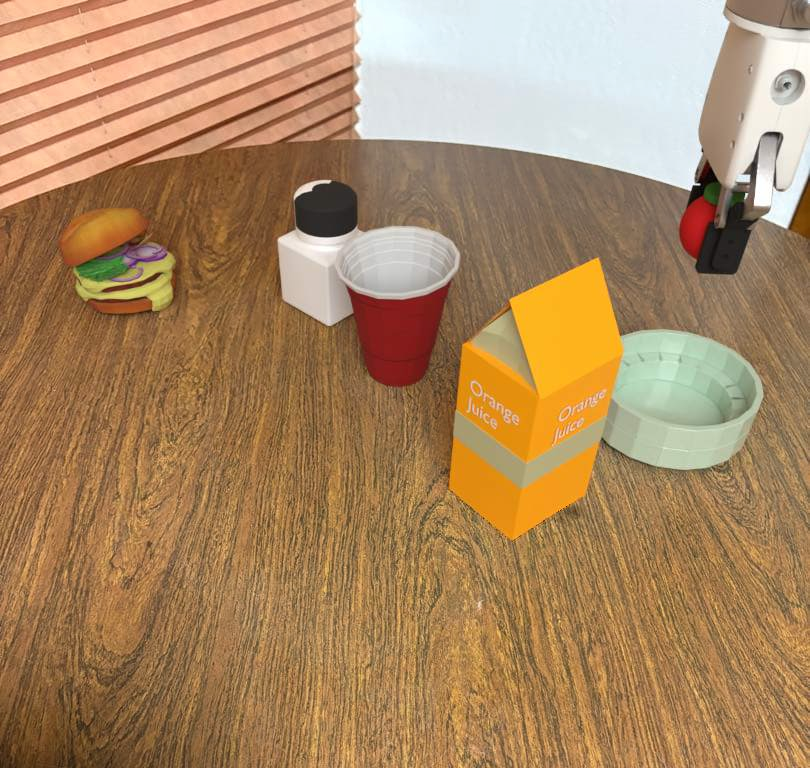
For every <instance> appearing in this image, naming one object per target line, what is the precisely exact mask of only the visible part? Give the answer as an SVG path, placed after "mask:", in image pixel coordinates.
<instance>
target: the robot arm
mask: <svg viewBox="0 0 810 768" xmlns="http://www.w3.org/2000/svg"><path fill="white" fill-rule="evenodd" d="M722 14H723V16H724V18H725V19H726V20H727V22H729V23H728V25H727V29H726V31H725V35H724V38H723V41H722V44H721V45H720V46H721V47H720V49H719V52H718V56H717V58H716V62H715V64H714V68H713V70H712V75H711V79H710V81H709V84H708V88H707V91H706V94H705V98H704V101H703V107H702V110H701V114H700V119H699V123H698V128H697V129H698V130H697V131H698V132H697V135H698V139H699V140H698V141H699V143H700V147H701V149H700V151H701V153H702V155H701V157H700V159H699V162H698V164H697V167H696V170H695V172H694V176H693V177H694V179H693V180H694V181H693V182H694V184H693V185H692V186H691V189H690V193H689V197H688V200H687V203H686V206H685V211H686V209H687V208H688V207H689V206H690V204H691V203H693V202H694V201H695V200H696V199H698V198H699V197H701V196H703V195H704V191H705V188H706V186H707V185H708V184H710V183H714V182H720V183H721V184H722V187H721V192H720V196H719V201H718V206H717V211H716V215H715V220H714V222H709V223H708V226H707V229H706V232H705V236H704V239H703V242H702V245H701V248H700V252H699V255H698V258H697V260H696V261H695V265H694V269H695V271H696V273H697V274H703V275H724V276H725V275H727V276H729V275H730V276H731V275H732V276H733V275H735V274H736V273H737V272H738V271H739V268H740V265H741V263H742V259H743V256H744V254H745V251H746V248H747V245H748V242H749V239H750V236H751V234H752V231H754V230H755V228H756V226H757V224H758V221H759V220H760V218H762V217H764V216H766V215H767V214H769V213H770V211H771V209H772V204H773V193H774V189H775V191H777V192H780V193H784V192H786V191H787V190H788V189H789V188H791V186H792V184H793V181H794V179H795V176H796V174H797V170H798V167H799V165H800V161H801V159H802V155H803V153H804V150H805V146H806V144H807V140H808V139H809V134H810V0H725V3H724V7H723V11H722ZM739 175H742V176H743V175H744V176H749V181H737V179H738V176H739ZM733 193H745V194H747V196H745V198H744V201H743V202H736V203H735V204H734V205H733V206H732V207H730V204H731V199H732V195H733ZM685 211H684V212H685Z"/></svg>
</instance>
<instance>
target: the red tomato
mask: <svg viewBox="0 0 810 768" xmlns="http://www.w3.org/2000/svg"><path fill="white" fill-rule="evenodd" d="M721 187H722V184H721V183H720V182H714V183H710V184H708V185H707V186H706V188H705V191H704V195H703V196H701V197H699V198H698V199H696V200H695V201H694V202H693V203H691V204H690V206H689V207H688V208H687V209H686V208H685V210H686V211H684V213H683V215H682V216H681V219H680V223H679V227H678V236H679V237H678V238H679V240H680V244H681V246H682V248H683V250H684V252H685V253H687V255H688V256H690V257H691V258H692V259H694V260H696V261H697V258H698V255H699V252H700V248H701V245H702V242H703V239H704V236H705V232H706V229H707V226H708V223H709V222H714V220H715V215H716V211H717V206H718V201H719V196H720V192H721ZM744 199H746V193H733V195H732V199H731V204H730V207H732V206H733V205H734V204H735V203H736V202H743V201H744Z"/></svg>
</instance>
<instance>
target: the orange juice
mask: <svg viewBox="0 0 810 768" xmlns="http://www.w3.org/2000/svg"><path fill="white" fill-rule="evenodd" d="M508 301H509V302H508V303H507V304H506V305H505V306H504V307H503V308H502V309H501V310H499V312H498V313H497V314H496V315H495V316H493V317H492V318H491V319H490V320H489V321H488V322H487V323H486V324H485V325H484V326H483V327H481V328H480V329H479V330H478V331H477V332H476V333H475V334H474V335H473V336H472V337H471V338H469V339H468V340H467V341H466V342H464V343H462V345H461V354H460V355H461V356H460V366H459V376H458V386H457V387H458V388H457V397H456V407H455V408H456V409H455V411H454V421H453V431H452V436H453V437H452V439H453V440H452V449H451V460H450V461H451V462H450V469H449V470H450V471H449V481H448V490H449V489H450V490H451V491H453V493H455V494H456V495H457V496H459V497H460V498H461V499H462V500H463V501H464V502H466V503H467V504H468V505H470V506H471V507H472V508H473V509H474V510H475V511H477V512H478V513H479V514H480V515H481V516H483V517H484V518H485V519H486V520H488V522H490V523H491V524H492V525H494V527H496V528H497V529H498V530H500V531H501V532H502V533H504V535H506V536H507V537H508V538H510V540H514V539H515V538H517V537H519V536H520V535H523V533H525V532H527V531H528V530H530V529H531V528H533V527H534V526H536V525H537V524H539V523H540V522H542V521H543V520H545V519H546V518H549V517H550V516H552V515H553V514H555V513H556V512H558V511H559V512H558V513H560V512H561V511H563V510H564V509H566V508H567V507H569V506H570V505H572V504H573V503H575V502H577V501H578V500H580V499H581V498H583V497H584V496H586V495H587V490H588V487H589V484H590V481H591V480H590V479H591V475H592V472H593V468H594V464H595V460H596V457H597V453H598V450H599V446H600V441H601V440H602V433H603V430H604V426H605V422H606V418H607V412H608V408H609V404H610V400H611V397H612V393H613V389H614V385H615V381H616V378H617V374H618V370H619V366H620V362H621V359H622V355H623V353H624V349H623V346H622V342H621V338H620V336H621V334H620V331H619V328H618V324H617V321H616V316H615V313H614V309H613V305H612V301H611V298H610V294H609V291H608V287H607V283H606V280H605V276H604V272H603V268H602V265H601V261H600V257H599V256H598V257H596V258H593V259H591V260H588V261H587V262H585V263H583V264H581V265H579V266H576V267H574V268H573V269H570V270H568V271H566V272H564V273H562V274H560V275H558V276H555V277H553V278H551V279H549V280H547V281H545V282H542V283H541V284H538V285H537V286H534V287H532V288H530V289H528V290H526V291H524V292H522V293H520V294H517V295H516V296H514V297H511V298H509V299H508ZM450 493H451V494H452V495H454V494H453V493H452V492H450ZM456 498H457V499H458V500H460V499H459V498H458V497H456ZM577 499H578V500H577ZM574 501H575V502H574ZM464 502H462V503H463V504H464V505H466V504H465V503H464ZM569 504H570V505H569ZM566 506H567V507H566ZM468 508H469V509H470V510H472V509H471V508H470V507H468ZM563 508H564V509H563ZM561 509H562V510H561ZM560 510H561V511H560ZM474 513H475V514H476V515H478V514H477V513H476V512H474ZM558 513H556V514H555V515H557V514H558ZM555 515H553V516H555ZM481 516H479V517H480V518H481V519H482V520H484V519H483V518H482V517H481ZM553 516H552V517H553ZM552 517H550V518H549V519H551V518H552ZM546 521H547V520H545V521H544V522H546ZM485 522H486V523H487V524H488V525H490V524H489V523H488V522H487V521H485ZM544 522H542V523H544ZM542 523H541V524H542ZM541 524H539V525H538V526H540V525H541ZM538 526H536V527H535V528H537V527H538ZM491 527H492V528H493V529H494V530H496V529H495V528H494V527H493V526H491ZM535 528H533V529H532V530H534V529H535ZM532 530H530V531H529V532H531V531H532ZM497 532H498V533H499V534H501V533H500V532H499V531H497ZM529 532H527V533H526V534H528V533H529ZM526 534H524V535H523V536H525V535H526ZM503 537H504V538H505V539H507V538H506V537H505V536H503ZM520 538H521V537H519V538H518V539H520ZM518 539H516V540H515V541H517V540H518ZM515 541H513V542H511V541H509V542H510V543H511V544H513V543H514V542H515Z"/></svg>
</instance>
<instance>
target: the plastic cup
mask: <svg viewBox="0 0 810 768" xmlns="http://www.w3.org/2000/svg"><path fill="white" fill-rule="evenodd" d="M364 232H365V233H363V234H361V235H358V236H356V237H354V238H352V239H350V240H349V241H348V242H347V243H346V244H345V245H344V246H343V247H342V248H341V249H340V250H339V251H338V253H337V257H336V260H335V264H334V265H335V268H336V270H337V272H338V275H339V277H340V279H341V281H342V282H343V283H344V284H345V285H346V287H347V290H348V293H349V296H350V299H351V304H352V308H353V316H354V317H353V318H354V321H355V327H356V330H357V335H358V339H359V342H360V344H361V349H362V354H363V359H364V364H365V366H366V369H367V371H368V374H369V376H370V377H371V378H372V379H373V380H375V381H376V382H377V383H380V384H382V383H383V384H382V385H385V386H387V385H389V386H388V387H398V388H400V387H405V386H411V385H413V384H416V383H418V382H419V381H421V380H422V379H423V378H424V376H425V375H426V374H427V370H429V365H430V362H431V356H432V354H433V353H432V352H433V349H434V348H435V344H436V340H437V336H438V332H439V328H440V324H441V320H442V316H443V312H444V307H445V303H446V299H447V298H448V295H449V291H450V288H451V285H452V281H453V280H454V279H453V278H454V277H455V276H456V275H457V273H458V270H459V266H460V260H461V253H460V251H459V249H458V247H457V246H456V245H455V243H454V241H453V240H451V239H450V238H448V237H446V236H445V235H443V234H442V233H441V232H439V231H436V230H432V229H428V228H424V227H421V226H415V225H412V226H411V225H409V226H408V225H390V226H385V227H380V228H374V229H369V230H367V231H364Z"/></svg>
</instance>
